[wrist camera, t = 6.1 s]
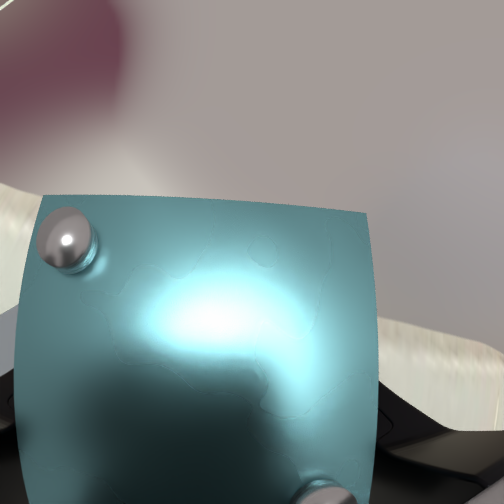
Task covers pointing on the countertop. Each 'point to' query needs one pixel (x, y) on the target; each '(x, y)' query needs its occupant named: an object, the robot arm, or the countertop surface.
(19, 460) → the robot arm
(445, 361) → the countertop surface
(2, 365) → the stand
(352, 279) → the block
